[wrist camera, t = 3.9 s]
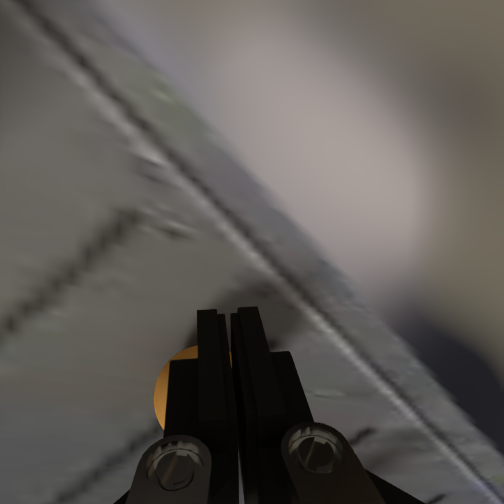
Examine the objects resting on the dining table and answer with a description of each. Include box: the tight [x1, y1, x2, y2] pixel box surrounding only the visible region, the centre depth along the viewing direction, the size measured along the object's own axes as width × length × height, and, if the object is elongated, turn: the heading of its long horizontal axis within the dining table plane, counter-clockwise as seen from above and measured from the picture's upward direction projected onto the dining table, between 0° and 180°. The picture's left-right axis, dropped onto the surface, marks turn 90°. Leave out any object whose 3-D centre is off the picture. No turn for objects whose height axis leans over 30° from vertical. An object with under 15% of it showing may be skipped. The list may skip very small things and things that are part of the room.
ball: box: [154, 345, 232, 429], centre depth 23 cm, size 6×6×6 cm
